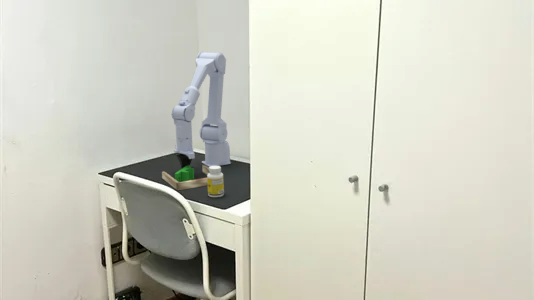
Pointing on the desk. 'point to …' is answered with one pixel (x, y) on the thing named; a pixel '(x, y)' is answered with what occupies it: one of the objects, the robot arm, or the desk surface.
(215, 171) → the supplement bottle
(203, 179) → the birch bay
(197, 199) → the desk surface
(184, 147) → the robot arm
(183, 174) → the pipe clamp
